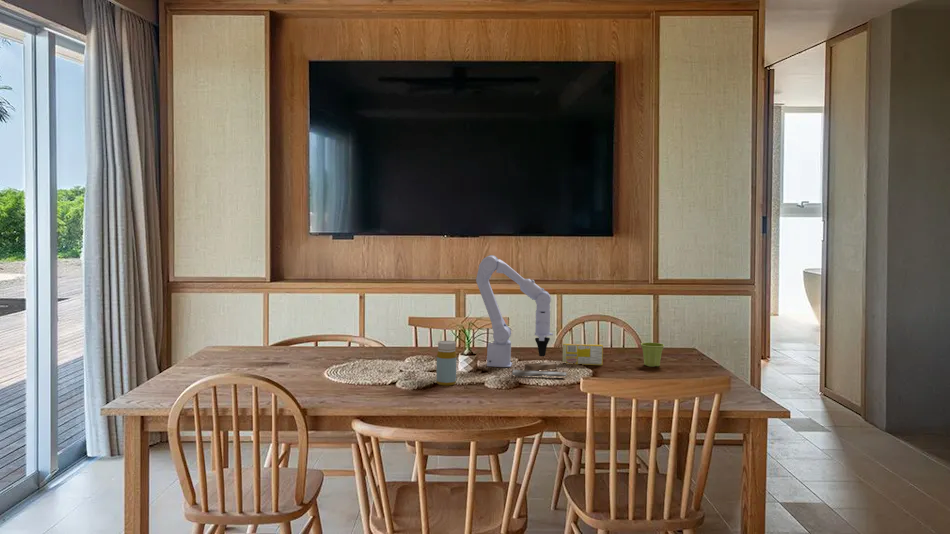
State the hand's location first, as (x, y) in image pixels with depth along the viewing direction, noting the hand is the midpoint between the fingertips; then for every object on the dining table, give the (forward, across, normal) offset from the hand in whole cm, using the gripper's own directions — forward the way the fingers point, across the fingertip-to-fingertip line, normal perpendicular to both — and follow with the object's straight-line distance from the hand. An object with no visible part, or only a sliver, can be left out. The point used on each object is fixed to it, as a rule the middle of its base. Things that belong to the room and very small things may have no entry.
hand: (542, 356), depth 315 cm
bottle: (+4, -37, +32) cm, 49 cm away
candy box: (+5, +10, -16) cm, 19 cm away
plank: (+5, -7, 0) cm, 9 cm away
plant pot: (+5, +14, -44) cm, 46 cm away
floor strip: (+4, -18, 0) cm, 18 cm away
